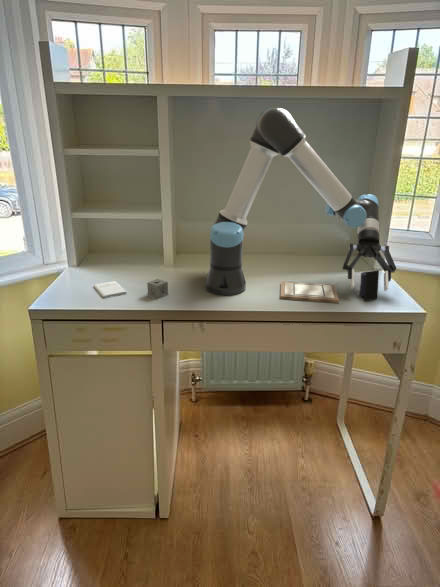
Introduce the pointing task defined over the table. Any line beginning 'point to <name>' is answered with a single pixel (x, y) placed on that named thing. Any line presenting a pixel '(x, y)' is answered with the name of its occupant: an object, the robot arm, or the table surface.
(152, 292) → the dice cube
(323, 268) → the table surface
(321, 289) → the picture frame
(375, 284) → the speaker
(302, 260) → the table surface
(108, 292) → the external hard drive
